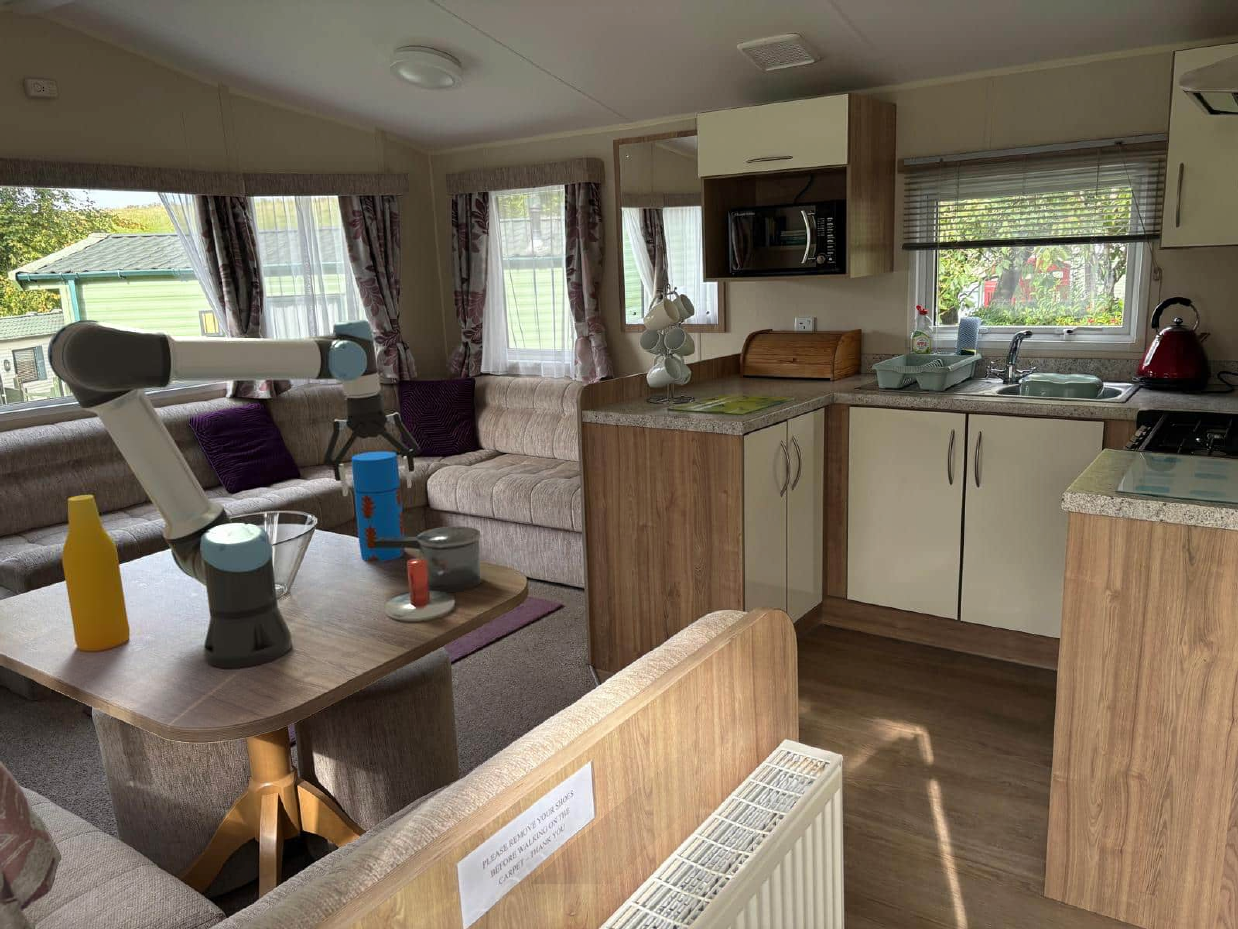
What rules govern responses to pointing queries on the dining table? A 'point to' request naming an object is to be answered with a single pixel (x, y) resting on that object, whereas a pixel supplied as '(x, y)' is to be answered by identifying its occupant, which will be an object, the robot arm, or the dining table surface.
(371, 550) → the thermos
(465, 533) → the pot
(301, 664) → the dining table surface
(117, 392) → the robot arm
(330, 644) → the dining table surface
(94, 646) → the beer bottle
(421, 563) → the lid
